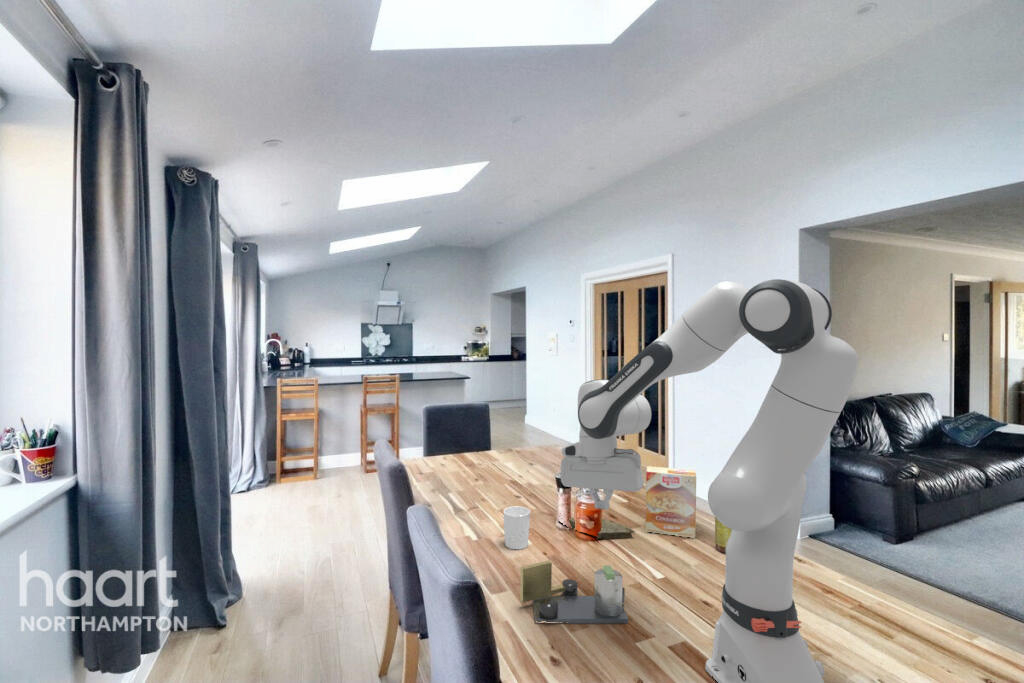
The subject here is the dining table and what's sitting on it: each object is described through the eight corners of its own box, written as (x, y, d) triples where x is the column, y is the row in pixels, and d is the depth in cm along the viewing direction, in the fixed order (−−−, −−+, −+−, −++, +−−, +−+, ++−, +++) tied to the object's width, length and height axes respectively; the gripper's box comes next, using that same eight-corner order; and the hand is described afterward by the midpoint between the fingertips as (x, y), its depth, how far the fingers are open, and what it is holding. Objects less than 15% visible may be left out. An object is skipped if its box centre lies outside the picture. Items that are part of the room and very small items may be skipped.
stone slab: (547, 522, 156) (549, 507, 156) (566, 518, 165) (568, 504, 165) (622, 550, 139) (624, 532, 139) (638, 544, 148) (640, 527, 149)
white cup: (498, 547, 138) (498, 512, 138) (510, 537, 145) (511, 504, 145) (522, 553, 135) (522, 518, 135) (534, 542, 142) (534, 509, 142)
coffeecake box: (645, 532, 150) (645, 471, 150) (645, 524, 157) (646, 465, 156) (695, 539, 145) (696, 475, 145) (694, 530, 152) (695, 469, 152)
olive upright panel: (571, 587, 116) (572, 552, 116) (580, 595, 113) (580, 558, 112) (517, 602, 109) (518, 564, 109) (525, 610, 106) (525, 571, 106)
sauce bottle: (741, 556, 134) (742, 486, 134) (717, 553, 136) (718, 484, 135) (735, 546, 141) (736, 479, 141) (712, 544, 142) (713, 477, 142)
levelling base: (633, 624, 102) (634, 579, 101) (535, 624, 101) (535, 579, 101) (621, 599, 112) (622, 557, 111) (532, 598, 111) (533, 557, 111)
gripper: (645, 447, 110) (650, 510, 108) (569, 446, 122) (572, 502, 120) (633, 450, 105) (638, 515, 103) (555, 448, 117) (558, 507, 115)
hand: (602, 508), depth 111 cm, fingers closed
